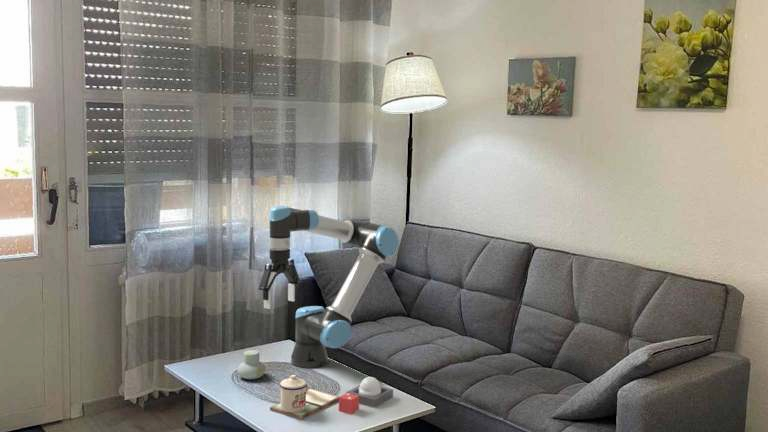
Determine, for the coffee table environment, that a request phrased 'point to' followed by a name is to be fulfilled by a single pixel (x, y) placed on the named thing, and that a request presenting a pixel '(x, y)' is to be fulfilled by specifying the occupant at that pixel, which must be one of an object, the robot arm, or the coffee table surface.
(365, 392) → the dome button
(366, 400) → the button bezel
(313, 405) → the wooden picture frame
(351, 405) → the red die
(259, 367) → the air freshener
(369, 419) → the coffee table surface
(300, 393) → the teacup with lid
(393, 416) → the coffee table surface
